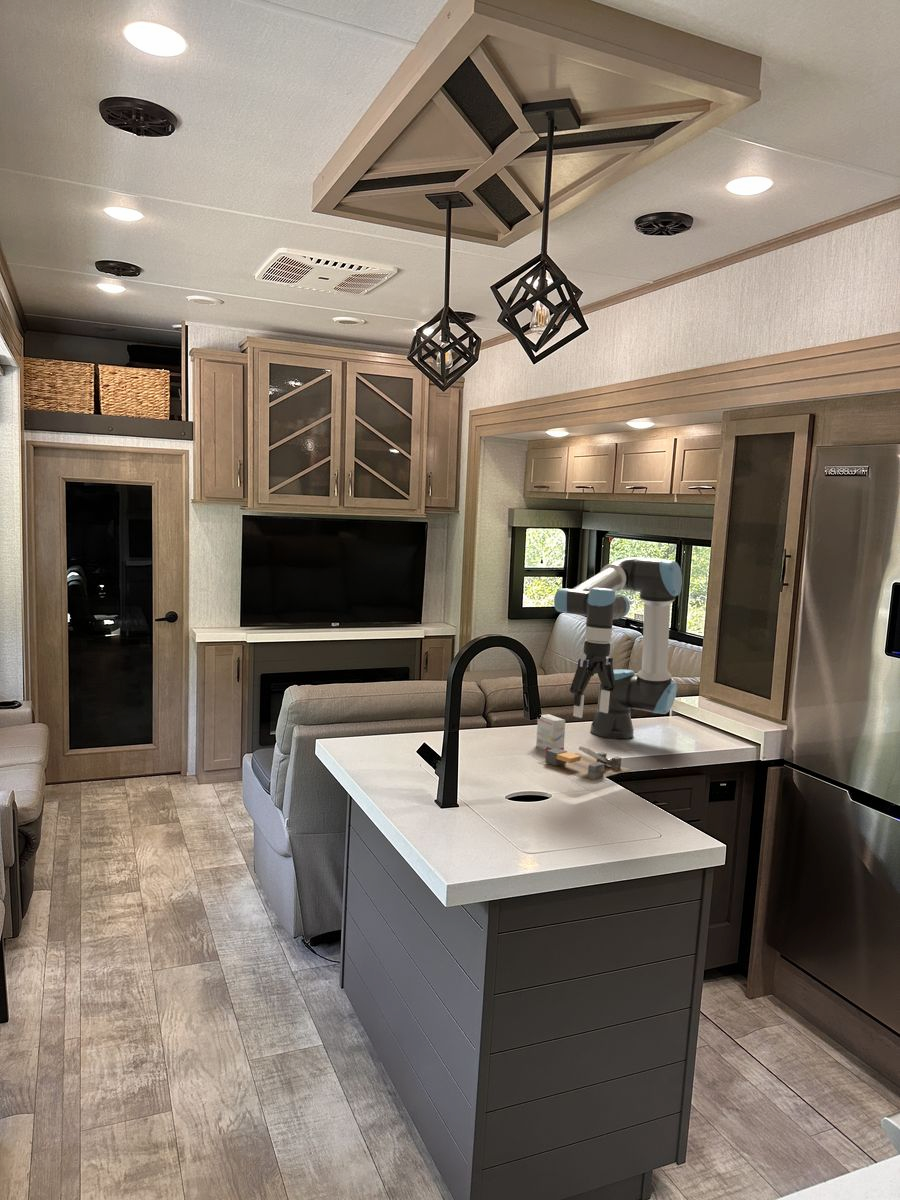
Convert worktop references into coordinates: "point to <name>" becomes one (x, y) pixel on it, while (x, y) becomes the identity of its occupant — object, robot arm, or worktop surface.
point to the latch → (560, 757)
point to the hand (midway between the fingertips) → (590, 714)
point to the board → (584, 767)
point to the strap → (596, 756)
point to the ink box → (550, 732)
